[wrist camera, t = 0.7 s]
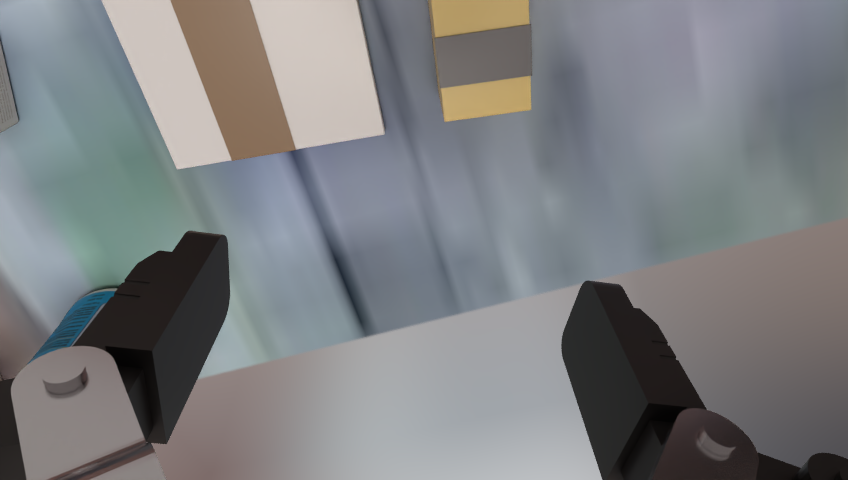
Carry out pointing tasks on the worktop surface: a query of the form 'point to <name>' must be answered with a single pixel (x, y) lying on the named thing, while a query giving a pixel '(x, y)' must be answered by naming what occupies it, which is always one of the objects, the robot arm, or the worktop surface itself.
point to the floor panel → (250, 74)
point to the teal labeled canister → (76, 321)
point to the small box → (6, 98)
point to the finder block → (482, 56)
